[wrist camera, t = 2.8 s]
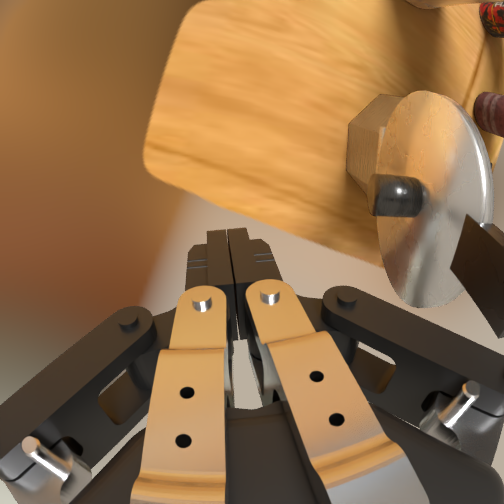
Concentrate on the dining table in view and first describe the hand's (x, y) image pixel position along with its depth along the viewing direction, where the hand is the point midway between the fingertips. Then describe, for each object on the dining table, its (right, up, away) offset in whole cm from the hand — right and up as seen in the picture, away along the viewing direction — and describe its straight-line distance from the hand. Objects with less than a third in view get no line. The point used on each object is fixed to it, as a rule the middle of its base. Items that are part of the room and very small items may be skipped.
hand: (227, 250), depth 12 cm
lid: (+12, +3, +4) cm, 13 cm away
